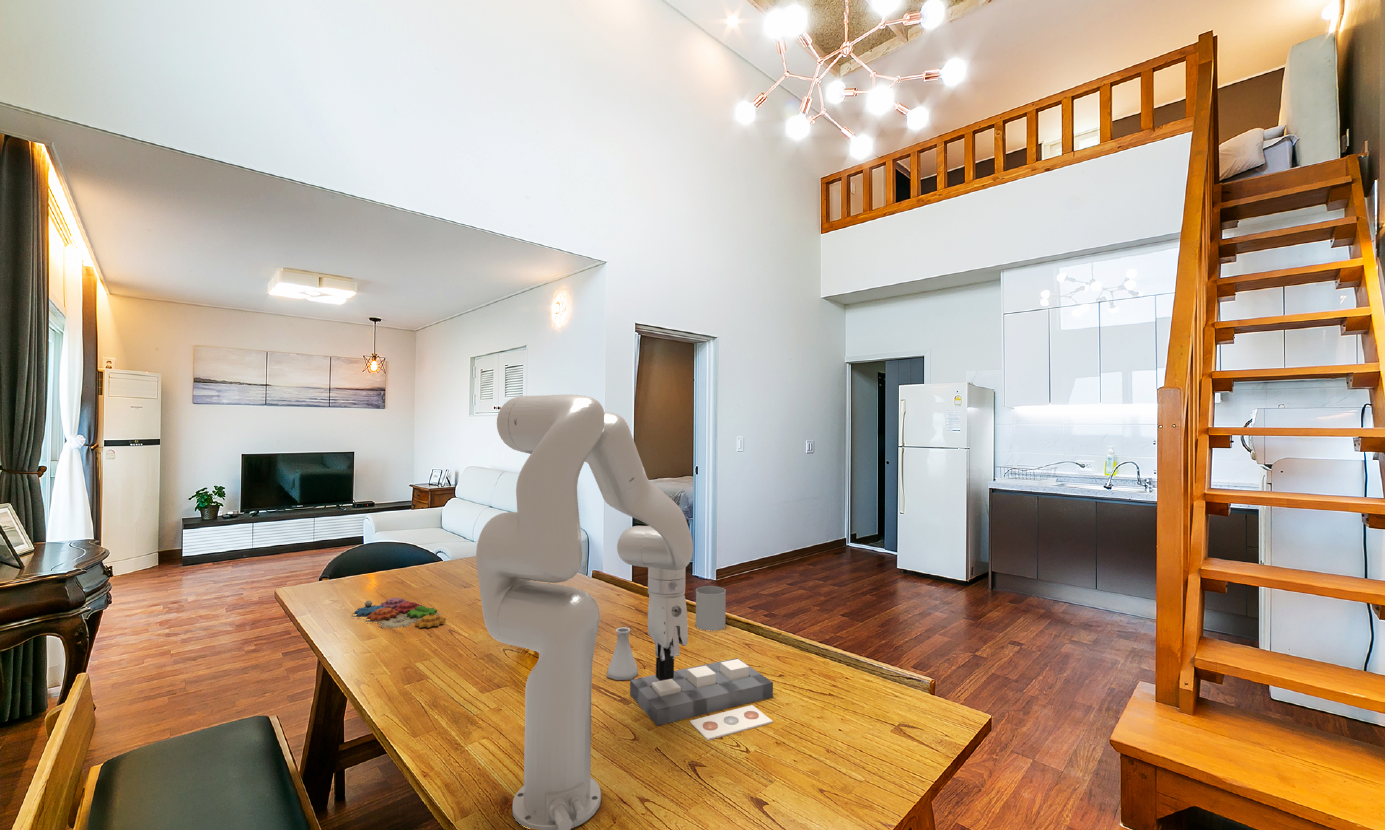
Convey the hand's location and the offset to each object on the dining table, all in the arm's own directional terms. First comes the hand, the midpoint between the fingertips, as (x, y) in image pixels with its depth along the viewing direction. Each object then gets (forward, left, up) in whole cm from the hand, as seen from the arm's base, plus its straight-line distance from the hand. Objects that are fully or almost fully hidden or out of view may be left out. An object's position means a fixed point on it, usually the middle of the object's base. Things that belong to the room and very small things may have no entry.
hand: (664, 678), depth 115 cm
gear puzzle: (+81, +46, -6) cm, 93 cm away
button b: (0, -9, -4) cm, 9 cm away
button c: (0, -1, -5) cm, 5 cm away
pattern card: (-12, -9, -5) cm, 15 cm away
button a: (0, -17, -4) cm, 17 cm away
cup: (+36, -31, -6) cm, 48 cm away
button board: (0, -9, -5) cm, 10 cm away
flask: (+17, +2, -6) cm, 18 cm away
